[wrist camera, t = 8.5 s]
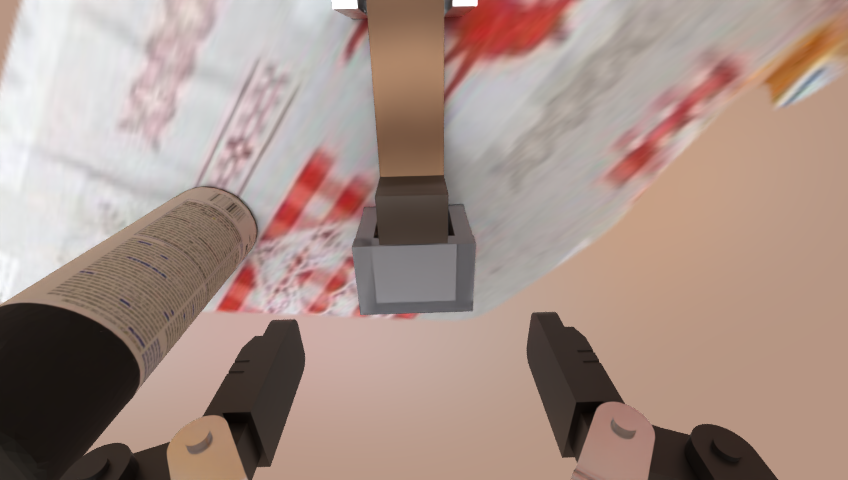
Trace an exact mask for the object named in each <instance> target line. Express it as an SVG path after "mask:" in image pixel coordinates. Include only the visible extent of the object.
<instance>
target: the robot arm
mask: <svg viewBox="0 0 848 480" xmlns="http://www.w3.org/2000/svg"><path fill="white" fill-rule="evenodd" d="M527 359H528V363H529V366H530V369H531V372H532V375H533V378H534V380H535V383H536V386H537V389H538V392H539V394H540V397H541V400H542V402H543V405H544V408H545V411H546V413H547V416H548V419H549V422H550V425H551V428H552V430H553V433H554V436H555V439H556V441H557V444H558V447H559V450H560V452H561V455H562V458H563V457H575V458H576V461H577V466H576V469H575V470H574V472H573V474H572V477H571V480H778V479H777V478H776V476H775V475H774V474H773V473H772V471H771V470H770V469H769V467H768V466H767V465H766V464H765V462H764V461H763V460H762V459H761V457H760V456H759V455H758V453H757V452H756V451H755V450H754V449H753V447H752V446H751V445H750V444H748V442H746V441H745V440H744V439H743V438H741V437H740V436H738V435H737V434H735V433H733V432H732V431H730V430H728V429H725V428H723V427H720V426H717V425H712V424H702V425H698V426H696V427H695V428H694V429H693V430H692V433H691V434H690V435H688V434H684V433H680V432H676V431H672V430H668V429H664V428H660V427H657V426H654V425H651V423H650V422H649V421H648V419H647V418H646V417H645V416H644V415H643V414H642V413H640V412H639V411H638V410H636V409H635V408H633V407H631V406H629V405H626V404H625V403H624V402H623V400H622V398H621V396H620V395H619V393H618V392H617V390H616V388H615V386H614V385H613V383H612V381H611V380H610V378H609V376H608V375H607V373H606V371H605V370H604V368H603V366H602V364H601V363H599V359H598V358H597V356H596V355H595V353H593V349H592V348H591V346H590V344H589V342H588V341H587V339H586V337H584V336H583V335H582V334H581V333H580V332H579V331H577V330H576V329H575V328H574V327H564V325H563V323H562V322H561V320H560V318H559V316H558V314H557V313H556V312H537V313H532V315H531V321H530V328H529V334H528V341H527ZM304 366H305V353H304V348H303V344H302V340H301V335H300V331H299V327H298V323H297V321H296V320H294V319H293V320H272V321H271V322H270V324H269V325H268V327H267V329H266V331H265V333H264V335H263V336H255V337H254V338H253V339H252V340H251V341H249V342H248V343H247V344H246V345H245V346H244V347H243V348H242V349H241V351H240V353H239V354H238V356H237V358H236V360H235V363H233V365H232V367H231V368H230V370H229V374H227V376H226V377H225V379H224V381H223V382H222V384H221V386H220V388H219V389H218V391H217V393H216V394H215V396H214V398H213V400H212V401H211V403H210V405H209V407H208V408H207V410H206V412H205V413H204V415H203V417H201V418H198V419H196V420H193V421H192V422H190V423H189V424H187V425H186V426H184V427H183V428H182V429H180V430H179V431H178V433H176V435H175V436H174V437H173V439H172V440H171V442H168V443H165V444H162V445H159V446H156V447H153V448H149V449H146V450H143V451H140V452H137V453H134V454H133V453H132V452H131V450H130V449H129V447H128V446H127V445H125V444H121V443H112V444H108V445H104V446H101V447H99V448H96V449H94V450H92V451H91V452H89V453H87V454H86V455H84V456H83V457H81V458H80V459H79V460H77V461H76V462H75V463H74V464H73V465H72V466H71V467H70V468H69V469H68V470H67V471H66V472H65V473H64V475H63V476H62V477H61V478H60V480H252V478H253V475H254V473H255V470H256V468H257V467H270V466H271V463H272V460H273V458H274V455H275V451H276V449H277V446H278V443H279V440H280V437H281V435H282V432H283V429H284V426H285V423H286V420H287V417H288V414H289V411H290V408H291V406H292V403H293V399H294V397H295V394H296V391H297V388H298V385H299V382H300V380H301V377H302V374H303V371H304Z"/></svg>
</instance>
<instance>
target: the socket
mask: <svg viewBox="0 0 848 480" xmlns="http://www.w3.org/2000/svg"><path fill="white" fill-rule="evenodd" d="M352 252H353V260H354V268H355V275H356V283H357V291H358V299H359V307H360V314H361V315H373V314H403V313H433V312H463V311H473V292H474V273H475V253H476V242H475V239H474V236H473V235H472V232H471V229H470V226H469V222H468V219H467V216H466V213H465V210H464V205H463V204H462V205H448V243H432V244H399V245H379V236H378V225H377V213H376V207H364V210H363V215H362V218H361V222H360V225H359V228H358V231H357V235H356V238H355V239H354V242H353V245H352Z"/></svg>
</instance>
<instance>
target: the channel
mask: <svg viewBox="0 0 848 480" xmlns="http://www.w3.org/2000/svg"><path fill="white" fill-rule="evenodd" d="M476 6H477V0H444V17H462V16H463V15H465V14H466V13H468V12H469V11H470V10H472V9H473V8H475V7H476ZM332 7H333V9H334V10H336V11H338V12H340V13H342V14H344V15H346V16H348V17H350V18H352V19H368V16H367V4H366V0H332Z"/></svg>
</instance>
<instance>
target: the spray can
mask: <svg viewBox="0 0 848 480" xmlns="http://www.w3.org/2000/svg"><path fill="white" fill-rule="evenodd" d="M256 233H257V230H256V223H255V221H254V219H253V217H252V215H251V213H250V211H249V209H248V208H247V207H246V206H245V205H244V203H243V202H241V201H240V200H239V199H238V198H237V197H236V196H235V195H232V194H230V193H227V192H225V191H222V190H220V189H216V188H208V187H198V188H194V189H191V190H187V191H185V192H183V193H181V194H179V195H178V196H176V197H174V198H173V199H171V200H169V201H168V202H166V203H165V204H163V205H162V206H160V207H158V208H157V209H155V210H153V211H152V212H150V213H148V214H147V215H145V216H144V217H142V218H140V219H139V220H137V221H136V222H134V223H132V224H131V225H129V226H127V227H126V228H124V229H123V230H121V231H119V232H118V233H116V234H114V235H113V236H111V237H110V238H108V239H106V240H105V241H103V242H101V243H100V244H98V245H96V246H95V247H93V248H92V249H90V250H88V251H87V252H85V253H83V254H82V255H80V256H79V257H77V258H75V259H74V260H72V261H70V262H69V263H67V264H66V265H64V266H62V267H61V268H59V269H57V270H56V271H54V272H53V273H51V274H49V275H48V276H46V277H45V278H43V279H41V280H40V281H38V282H36V283H35V284H33V285H32V286H30V287H28V288H27V289H25V290H24V291H22V292H20V293H19V294H17V295H15V296H14V297H12V298H11V299H9V300H7V301H6V302H4V303H3V304H1V305H0V480H60V478H61V477H62V476H63V475H64V473H65V472H66V471H67V470H68V469H69V468H70V467H71V466H72V465H73V464H74V463H75V462H76V461H77V460H79V459H80V458H81V457H83V455H84V454H85V453H86V452H87V451H88V449H89V448H90V447H91V446H92V445H93V443H94V442H95V441H96V440H97V439H98V437H99V436H100V435H101V434H102V433H103V431H104V430H105V429H106V428H107V427H108V425H109V424H110V423H111V422H112V421H113V419H114V418H115V417H116V416H117V415H118V414H119V412H120V411H121V410H122V409H123V408H124V406H125V405H126V404H127V403H128V402H129V401H130V400H131V399H132V398H133V396H134V395H135V393H136V392H137V391H138V389H139V388H140V387H141V386H142V384H143V383H144V382H145V380H146V379H147V378H148V377H149V375H150V374H151V373H152V372H153V371H154V369H155V368H156V367H157V365H158V364H159V363H160V362H161V361H162V360H163V358H164V357H165V356H166V355H167V353H168V352H169V351H170V349H171V348H172V347H173V346H174V344H175V343H176V342H177V341H178V340H179V339H180V337H181V336H182V335H183V333H184V332H185V331H186V330H187V328H188V327H189V326H190V325H191V324H192V322H193V321H194V320H195V319H196V317H197V316H198V315H199V314H200V312H201V311H202V310H203V309H204V308H205V306H206V305H207V304H208V302H209V301H210V300H211V299H212V297H213V296H214V295H215V294H216V293H217V291H218V290H219V289H220V288H221V286H222V285H223V284H224V283H225V281H226V280H227V279H228V278H229V276H230V275H231V274H232V273H233V272H234V270H235V269H236V268H237V267H238V265H239V264H240V263H241V261H242V260H243V259H244V258H245V257H246V255H247V254H248V253H249V251H250V250H251V249H252V247H253V245H254V242H255V239H256Z"/></svg>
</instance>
